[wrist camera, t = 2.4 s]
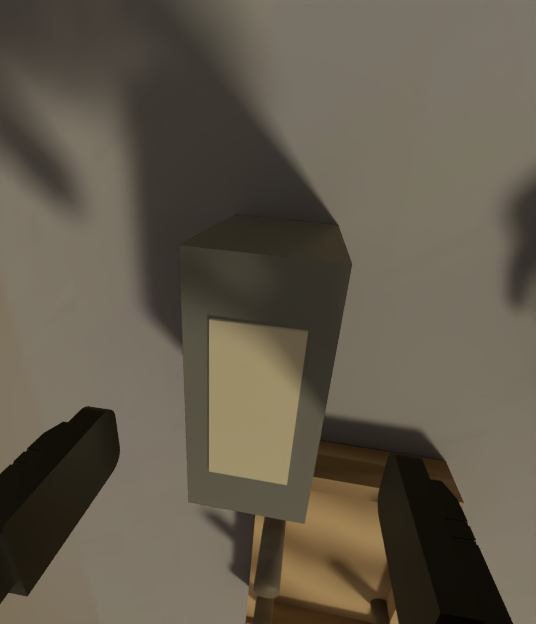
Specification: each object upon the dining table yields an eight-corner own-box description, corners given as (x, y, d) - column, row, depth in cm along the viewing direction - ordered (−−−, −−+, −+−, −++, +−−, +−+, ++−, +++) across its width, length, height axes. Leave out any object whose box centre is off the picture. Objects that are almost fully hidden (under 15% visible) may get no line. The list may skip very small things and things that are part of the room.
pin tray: (266, 432, 19) (244, 536, 14) (445, 461, 18) (500, 586, 13) (251, 588, 26) (233, 702, 20) (382, 616, 25) (401, 743, 19)
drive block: (235, 214, 15) (177, 246, 9) (338, 224, 14) (352, 265, 8) (229, 396, 19) (187, 504, 13) (309, 408, 18) (304, 527, 12)
